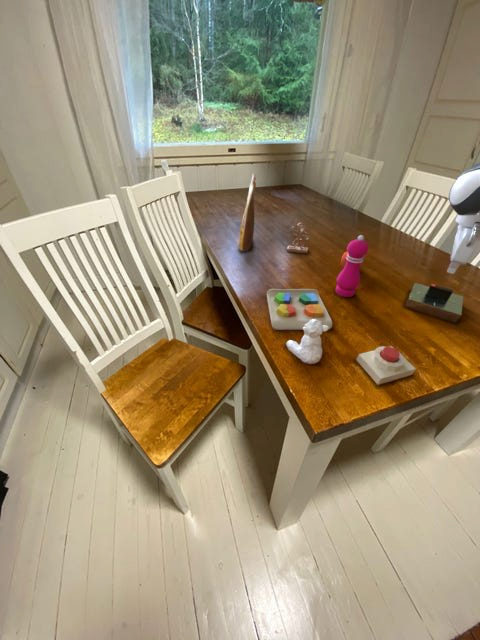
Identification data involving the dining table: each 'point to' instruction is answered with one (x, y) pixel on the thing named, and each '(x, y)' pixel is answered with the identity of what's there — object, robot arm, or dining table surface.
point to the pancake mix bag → (248, 219)
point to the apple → (344, 260)
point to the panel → (435, 304)
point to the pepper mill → (352, 268)
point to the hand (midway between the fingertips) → (451, 265)
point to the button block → (384, 366)
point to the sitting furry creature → (309, 342)
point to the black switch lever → (439, 292)
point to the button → (390, 354)
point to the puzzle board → (296, 308)
